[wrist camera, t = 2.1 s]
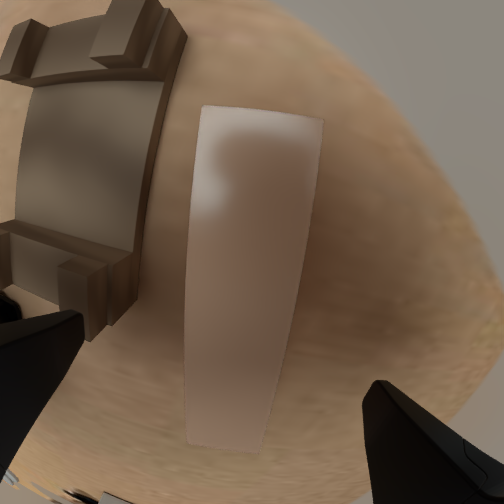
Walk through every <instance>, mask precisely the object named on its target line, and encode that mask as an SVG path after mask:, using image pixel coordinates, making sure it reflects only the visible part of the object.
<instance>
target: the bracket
mask: <svg viewBox="0 0 504 504" xmlns="http://www.w3.org/2000/svg"><path fill="white" fill-rule="evenodd" d="M187 37H188V36H187V34H186V33H185V31H184V30H183V28H182V26H181V25H180V23H179V22H178V20H177V19H176V17H175V16H174V14H173V13H172V11H171V10H170V8H163V6H162V5H161V3H160V2H159V1H158V0H112V2H111V4H110V6H109V8H108V10H107V12H106V14H105V15H100V16H94V17H89V18H84V19H80V20H76V21H71V22H67V23H64V24H60V25H56V26H53V27H50V28H49V27H47V26H45V25H43V24H41V23H39V22H37V21H35V20H33V19H29V20H27V21H24V22H22V23H19V24H17V25H15V26H14V27H13V29H12V31H11V33H10V36H9V38H8V40H7V43H6V45H5V48H4V51H3V53H2V56H1V59H0V79H2V80H7V81H11V82H12V83H16V84H20V85H24V86H28V87H32V88H34V89H33V92H32V96H31V100H30V104H29V108H28V112H27V117H26V122H25V126H24V132H23V137H22V143H21V150H20V157H19V165H18V174H17V185H16V202H15V219H14V220H10V221H7V222H3V223H0V291H1V290H2V289H4V288H6V287H8V286H10V285H11V284H14V285H16V286H18V287H20V288H22V289H24V290H26V291H28V292H31V293H33V294H35V295H37V296H39V297H41V298H43V299H46V300H48V301H50V302H52V303H55V304H57V305H59V309H60V311H65V310H69V309H73V310H76V311H78V312H81V313H82V314H83V317H84V328H85V340H86V341H88V342H91V341H92V340H93V339H94V338H95V337H96V336H97V335H98V334H99V333H100V332H101V331H102V330H103V329H104V328H105V326H106V325H110V326H113V325H114V323H115V322H116V321H117V320H118V319H119V318H120V317H121V316H122V315H123V314H124V313H125V312H126V311H127V310H128V309H129V308H130V307H131V306H132V305H133V304H134V302H135V301H136V300H137V293H138V278H139V266H140V255H141V246H142V237H143V228H144V221H145V213H146V206H147V200H148V193H149V187H150V181H151V176H152V170H153V165H154V160H155V155H156V150H157V145H158V140H159V136H160V131H161V127H162V123H163V118H164V114H165V110H166V106H167V103H168V99H169V95H170V91H171V88H172V84H173V81H174V77H175V74H176V71H177V67H178V64H179V61H180V58H181V55H182V51H183V48H184V45H185V42H186V40H187Z"/></svg>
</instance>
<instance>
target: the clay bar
mask: <svg viewBox="0 0 504 504" xmlns="http://www.w3.org/2000/svg"><path fill="white" fill-rule="evenodd" d="M323 126H324V119H319V118H314V117H308V116H302V115H296V114H289V113H282V112H275V111H267V110H258V109H248V108H237V107H223V106H204V105H202V111H201V118H200V125H199V133H198V140H197V148H196V157H195V165H194V175H193V184H192V195H191V206H190V218H189V231H188V245H187V262H186V283H185V314H184V391H185V420H186V439H187V443H188V444H193V445H198V446H204V447H209V448H215V449H221V450H228V451H236V452H244V453H254V454H259V453H260V449H261V446H262V442H263V439H264V435H265V432H266V428H267V424H268V420H269V417H270V413H271V409H272V405H273V401H274V397H275V393H276V389H277V385H278V381H279V377H280V373H281V369H282V364H283V360H284V356H285V351H286V347H287V342H288V338H289V333H290V329H291V324H292V319H293V314H294V309H295V304H296V299H297V294H298V289H299V284H300V279H301V274H302V268H303V263H304V257H305V251H306V246H307V240H308V234H309V228H310V222H311V215H312V209H313V202H314V196H315V189H316V182H317V174H318V167H319V159H320V151H321V143H322V135H323Z"/></svg>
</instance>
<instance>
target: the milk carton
mask: <svg viewBox="0 0 504 504" xmlns="http://www.w3.org/2000/svg"><path fill="white" fill-rule="evenodd" d="M98 504H131V503H128V502H126V501H123V500H121V499H118V498H116V497H114V496H111V495H109V494H107V493H104V492H103V494H102V497H101V499H100V501H99V503H98Z"/></svg>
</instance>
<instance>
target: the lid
mask: <svg viewBox="0 0 504 504" xmlns="http://www.w3.org/2000/svg"><path fill="white" fill-rule="evenodd" d="M3 480H5V481H6V482H7V483H9V484H10V485H12V486H13V485H14V484H13V482H18V481H19V479H18V478H17V477H16V476H15V475H14V473H12V472H11V471H10V470H9V469H7V471H6V473H5V475H4V477H3Z"/></svg>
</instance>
